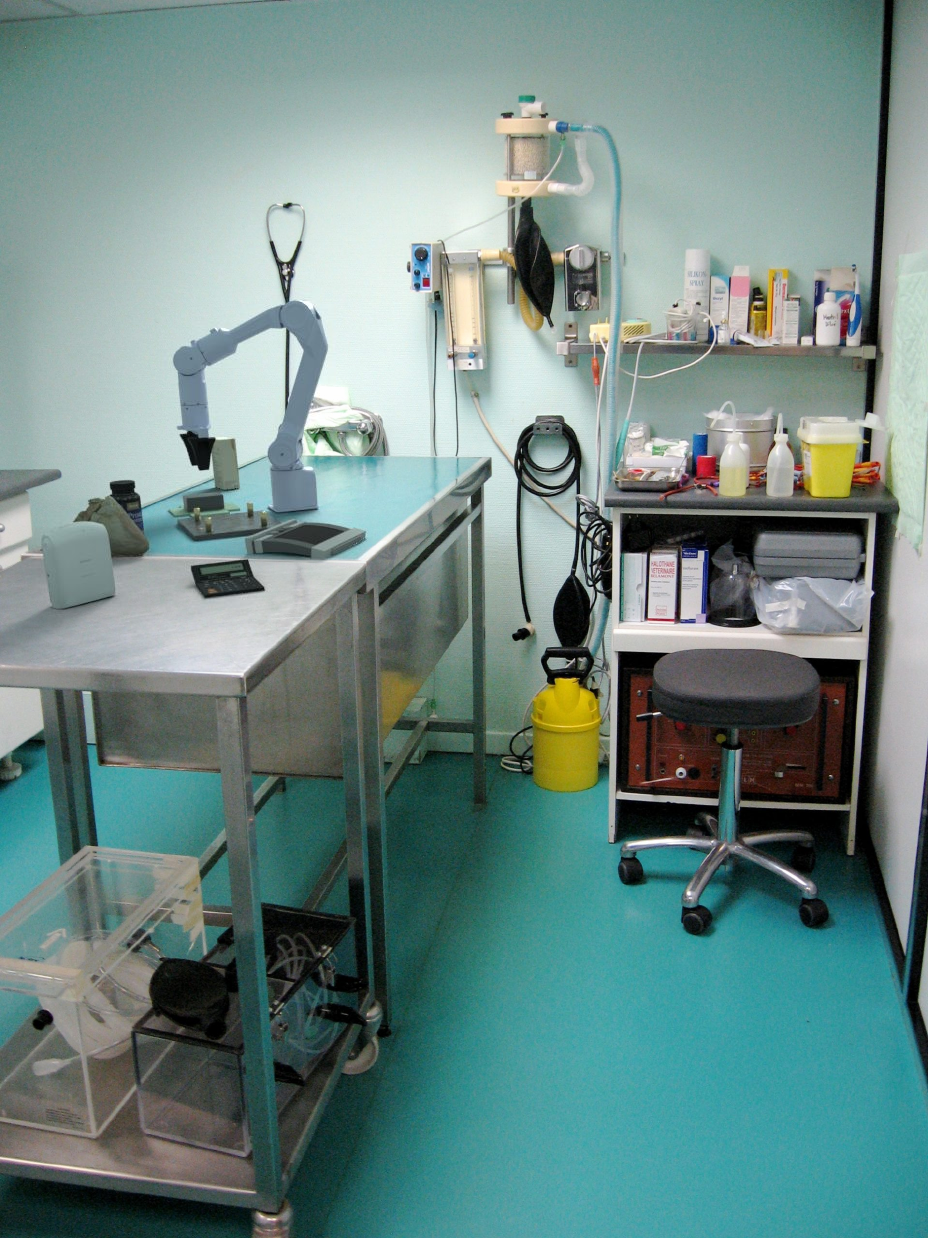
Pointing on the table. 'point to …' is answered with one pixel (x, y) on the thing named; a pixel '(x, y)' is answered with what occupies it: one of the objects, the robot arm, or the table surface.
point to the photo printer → (78, 564)
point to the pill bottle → (128, 500)
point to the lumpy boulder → (116, 526)
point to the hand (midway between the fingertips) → (200, 467)
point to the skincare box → (225, 463)
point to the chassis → (227, 524)
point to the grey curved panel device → (304, 539)
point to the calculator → (225, 578)
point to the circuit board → (209, 513)
